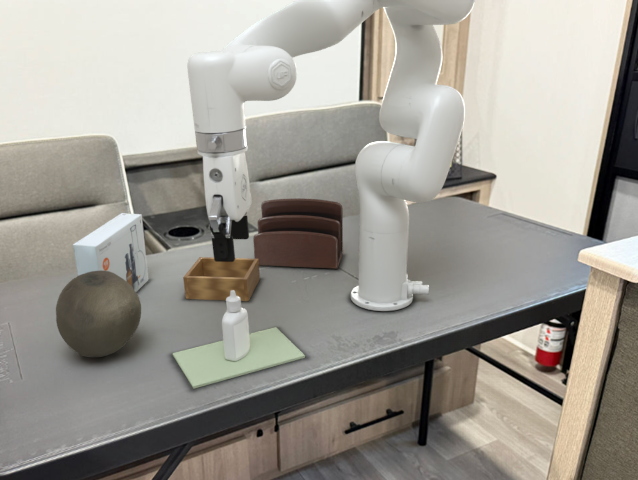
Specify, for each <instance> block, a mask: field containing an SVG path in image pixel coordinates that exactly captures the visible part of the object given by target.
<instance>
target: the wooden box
mask: <svg viewBox="0 0 638 480" xmlns="http://www.w3.org/2000/svg"><path fill="white" fill-rule="evenodd" d="M260 276H261V275H260V266H259V259H254V258H245V257H244V258H243V257H235V260H234V261H233V262H216V261H215V260H214V256H213V257H212V256H211V257H207V256H206V257H205V256H199V257H198V258H197V259H196V260H195V262H194V263H193V264H192V266H191V267H190V268H189V269H188V270H187V272H186V273H185V274H184V275H183V276H182V278H183V279H182V280H183V286H184V296H185V299H186V300H203V301H204V300H205V301H226V298H227V297H229V296H230V291H231V290H234V291H235V293H236V296H239V297H240V298H241V302H249V301H250V299H251V297H252V296H253V293H254V291H255V289H256V287H257V286H258V284H259V282H260V280H261V278H260Z"/></svg>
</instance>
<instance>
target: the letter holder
mask: <svg viewBox="0 0 638 480" xmlns="http://www.w3.org/2000/svg"><path fill="white" fill-rule="evenodd" d="M260 207H261V217H260V218H259V219H257V233H256V234H254V236H253V237H252V238H253V239H252V240H253V242H252V243H253V256H254V258H253V259H259V267H280V268H281V267H283V268H284V267H285V268H307V269H327V270H338V268H339V265H340V263H341V260H342V257H343V253H344V250H343V249H344V247H343V245H344V241H343V240H344V239H343V238H344V237H343V236H344V232H343V230H344V229H343V227H344V226H343V225H344V224H343V223H344V222H343V220H344V219H343V218H344V215H343V214H344V213H343V212H344V211H343V210H344V209H343V205H342V204H341V203H340V202H338V201H333V200H327V199H326V200H325V199H319V198H318V199H317V198H296V197H295V198H277V199H270V200H264V201H262V202H261V205H260Z"/></svg>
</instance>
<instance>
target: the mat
mask: <svg viewBox="0 0 638 480" xmlns="http://www.w3.org/2000/svg"><path fill="white" fill-rule="evenodd" d="M249 338H250V350H249V352H248V354H247V355H246V356H245V357H243V358H242V359H240V360H238V361H230V360H227V359H225V354H224V344H223V340H219V341H214V342H211V343H206V344H203V345H200V346H196V347H191V348H187V349H183V350H179V351H175V352H172V357H173V358H174V360H175V362H176V363H177V365H178V366H179V368H180V369H181V371H182V373H183V374H184V377H186V379H187V381H188V383H189V384H190V386H191V387H192V389H194V390H195V389H198V388H201V387H205V386H209V385H213V384H216V383H221V382H224V381H227V380H230V379H234V378H237V377H241V376H244V375H248V374H252V373H256V372H260V371H263V370H266V369H270V368H273V367H274V368H275V367H277V366H280V365H285V364H288V363H291V362H295V361H299V360H302V359H305V358H306V355H305V354H304V353H303V352H302V351H301V350H300V348H299V347H297V346H296V345H295V344H294V343H293V342H292V341H291V340H290V339H289V338H288V337H287V336H286V335H285V334H284V333H282V331H280V329H279V328H277V327H276V326H275V327H270V328H266V329H263V330H258V331H255V332H249Z"/></svg>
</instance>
